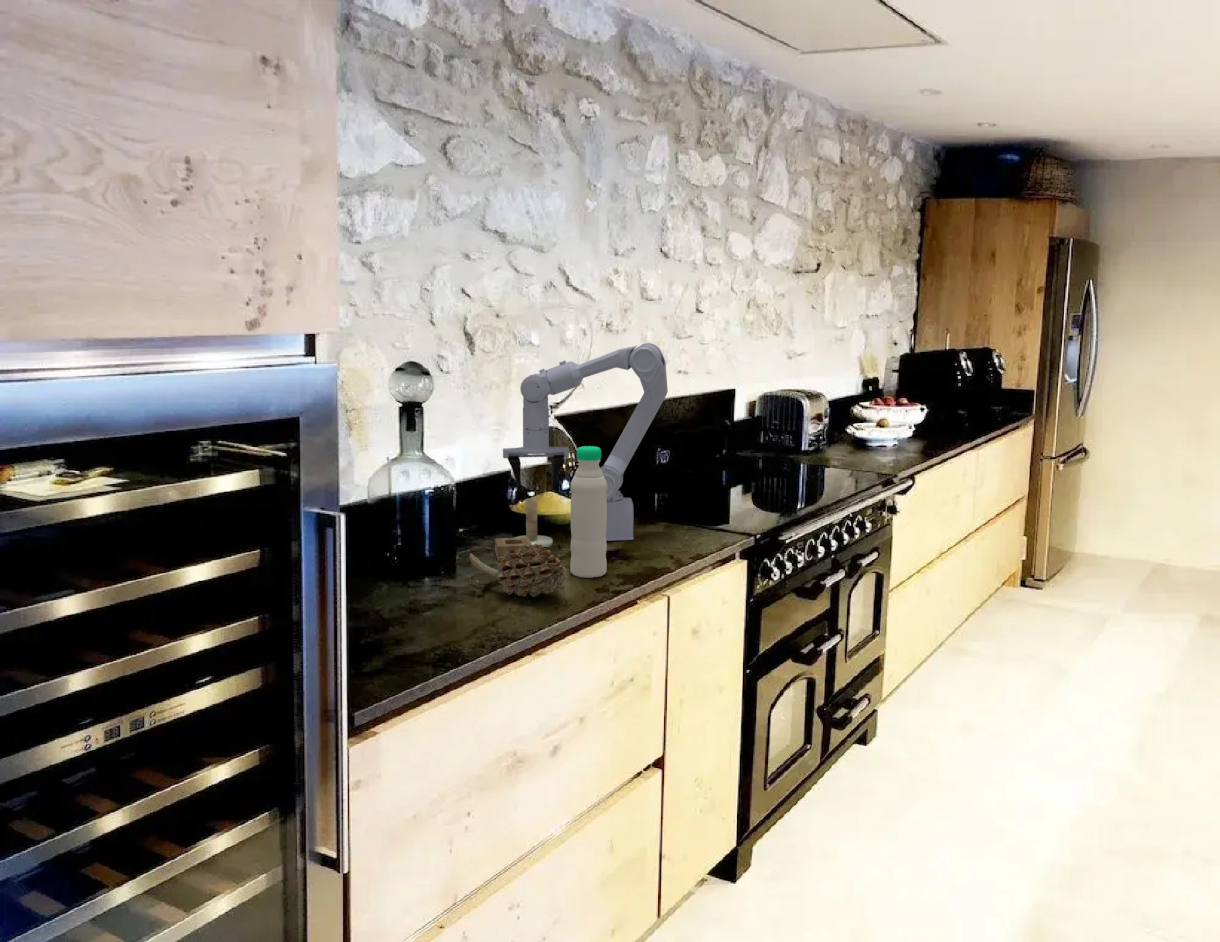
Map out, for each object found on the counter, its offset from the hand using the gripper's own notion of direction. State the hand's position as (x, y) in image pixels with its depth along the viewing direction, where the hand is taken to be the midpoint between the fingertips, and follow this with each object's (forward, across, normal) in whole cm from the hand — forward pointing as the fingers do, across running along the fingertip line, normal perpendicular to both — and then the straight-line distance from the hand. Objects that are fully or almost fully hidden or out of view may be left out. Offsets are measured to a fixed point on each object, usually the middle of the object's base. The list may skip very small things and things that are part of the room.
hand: (536, 489), depth 242 cm
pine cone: (+11, +10, +45) cm, 47 cm away
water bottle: (+11, -6, +34) cm, 36 cm away
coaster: (+10, +2, +8) cm, 13 cm away
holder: (+10, +7, +18) cm, 22 cm away
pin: (+10, +2, +8) cm, 13 cm away
